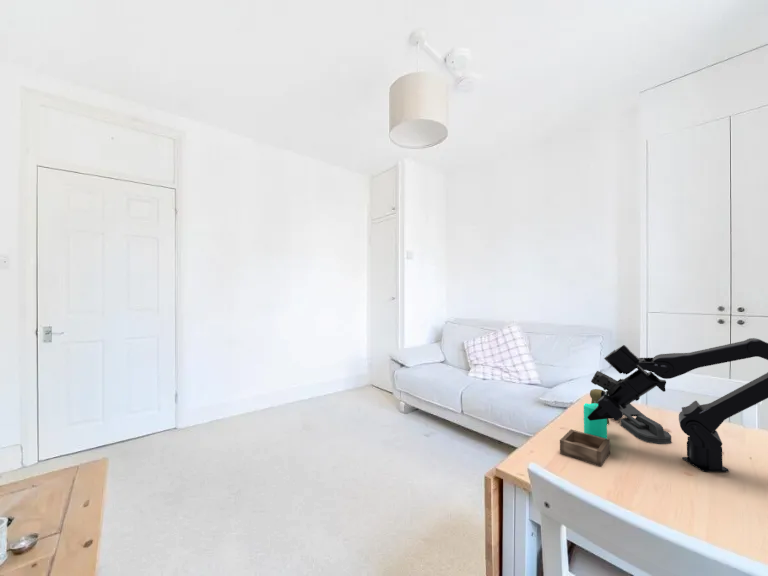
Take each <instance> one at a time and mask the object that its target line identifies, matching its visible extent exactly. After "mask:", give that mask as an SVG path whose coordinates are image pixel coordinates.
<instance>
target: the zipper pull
mask: <svg viewBox="0 0 768 576" xmlns="http://www.w3.org/2000/svg"><path fill="white" fill-rule="evenodd" d="M620 407H621V406H620ZM621 408H622V407H621ZM622 409H623V408H622ZM623 416H624V417H622V418H621V419H620V426H621V427H622V428H623V429H625V430H626V431H628V432H629V433H630V434H631V435H632V436H634V437H636V438H637V440H640V441H643V442H646V443H649V444H656V445H667V444H671V443H672V435H671V433H670V432H669V431H666V430H664V427H663V426H662V425H661V424H660V423H658V422H657V421H655V420H653V419H651V418H650V417H648V416H647V415H645V414H644V413H642V412H641V411H640V410H639V409H638V408H636V407H635V406H634V405H633V404H631V403H630V404H628V405H627V407H626V408H625V409H623Z"/></svg>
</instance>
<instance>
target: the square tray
mask: <svg viewBox="0 0 768 576" xmlns="http://www.w3.org/2000/svg"><path fill="white" fill-rule="evenodd" d="M559 453H560V454H561V455H564V456H567V457H570V458H573V459H575V460H580V461H583V462H586V463H589V464H592V465H595V466H598V467H602V466H603V464H604V463H605V461H606V460H608V459H607V458H608V457H609V455H610V454H611V439H610V438H607V439H606V438H602V437H598V436H594V435H591V434H587V433H584V431H583V432H582V431H579V430H577V429H572V428H571V429H570V430H569V431H567V433H565V434H564V436H563V437H561V438H560V439H559Z"/></svg>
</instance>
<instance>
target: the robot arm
mask: <svg viewBox="0 0 768 576" xmlns="http://www.w3.org/2000/svg"><path fill="white" fill-rule="evenodd" d="M755 357H759V358H761V359H764V360H767V361H768V342H766V341H764V340H762V339H760V338H757V337H756V338H755V337H752V338H751V337H750V338H747V339H745V340H742V341H737V342H732V343H727V344H723V345H719V346H715V347H710V348H705V349H701V350H700V349H699V350H696V351H691V352H672V353H670V352H669V353H660V354H657V355H654V356H653V357H637V356H636V355H635V353H633V352H632V351H631V350H630V349H629V347H627V345H624V344H622V345H621V346H619V347H618V348H617V349H614V350H613V351H611V352H610V353H609V354H607V355H606V356H605V357H604V358H603V359H604V360H605V362H607V363H608V364H609V365H610V366H611V367H612V368H614V370H615V371H617V372H618V373H619V374H620V375H621V374H623V375H628V376H626V377H625V378H619V379H618V380H617V379H614V378H613V377H611V376H610V375H607V374H606V373H604V372H602V371H599V370H596V372H595V373H594V375H593V377H592V378H591V380H590V382H591V383H592V384H594V385H595V386H599V387H600V388H602V389H601V390H602V392H601V398H600V399H598V403H597V404H598V406H597V407H596V408H595V410H594V411H593V412H592V413H591V414H590V415H589V416H588V417H587V418H588V419H589V420H599V419H613V420H614V421H616V422H617V421H619V420H621V419H623V418H624V417H623V416H624V415H623V409H625V408H626V407H627V405H628V404H631V403H633V402H635V401H636V402H637V401H639V400H640V398H641V397H642V396H644V395H645V394H647V393H648V392H650V391H652V390H653V389H655V388H656V387H657V388H658V389H659V390H660V391H661V392H666V385H667V380H668V379H673V378H676V377H680V376H682V375H685V374H686V373H689V372H691V371H693V370H695V369H699V368H704V367H709V366H715V365H718V364H719V365H720V364H725V363H729V362H734V361H740V360H745V359H751V358H755ZM636 369H637V370H636ZM634 370H635V371H634ZM647 371H648V372H647ZM630 373H631V374H630ZM629 374H630V375H629ZM660 378H661V379H660ZM604 391H605V392H604ZM767 399H768V372H766V373H764V374H762V375H761V376H759V377H756V378H755V379H753V380H751V381H750V382H747V383H746V384H744V385H742V386H740V387H738V388H736V389H734V390H732V391H730V392H729V393H726V394H724V395H723V396H721V397H719V398H717V399H716V400H713V401H712V402H709V403H704V404H700V403H699V402H698V400H694V401H693V402H691V403H690V404H689V405H687V406H682V407H681V411H680V412H679V413H678V421H679V426H680V429H681V431H682V433H684V434H685V435H687V441H686V456H682V457H681V460H682V461H685V462H687V463H688V464H690V465H692V466H693V467H694V468H695V467H696V469H698V470H700V471H701V472H705V473H710V472H712V473H714V472H719V473H720V472H722V473H723V472H725V473H726V472H729V471H730V469H729V468H727V467H725V466H723V441H722V440H721V437H720V435H719V433H718V431H717V429H718V428H719V427H720V426H721V425H722V424H723V423H724V421H726V420H727V419H729V418H731V417H733V416H735V415H737V414H739V413H741V412H743V411H745V410H747V409H748V408H751V407H753V406H754V405H757V404H759V403H761V402H762V401H765V400H767ZM620 406H621V407H622V408H623V409H622V408H621V407H620Z"/></svg>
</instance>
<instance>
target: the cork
mask: <svg viewBox="0 0 768 576" xmlns="http://www.w3.org/2000/svg"><path fill="white" fill-rule="evenodd" d="M602 390H603V389H599V388H595V389H594V388H593V389H591V390H590V391H589V397H590V398H591V402H590V404H592V403H598V399H600V398H601V392H602ZM603 391H604V392H606V390H603ZM609 419H610V418H609ZM609 419H607V424H608V425H610V420H609Z"/></svg>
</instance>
